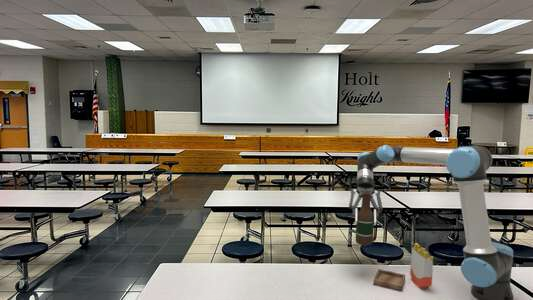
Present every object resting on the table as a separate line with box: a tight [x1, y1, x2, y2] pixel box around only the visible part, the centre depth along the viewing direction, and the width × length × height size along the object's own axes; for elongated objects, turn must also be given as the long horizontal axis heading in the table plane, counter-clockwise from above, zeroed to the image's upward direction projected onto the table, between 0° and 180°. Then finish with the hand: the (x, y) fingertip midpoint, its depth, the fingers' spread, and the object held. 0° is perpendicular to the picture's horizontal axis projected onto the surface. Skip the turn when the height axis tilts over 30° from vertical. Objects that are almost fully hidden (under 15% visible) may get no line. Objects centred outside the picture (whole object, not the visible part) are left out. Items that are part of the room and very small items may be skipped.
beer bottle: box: [355, 191, 375, 247], centre depth 161 cm, size 8×8×24 cm
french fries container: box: [409, 242, 434, 289], centre depth 157 cm, size 5×11×18 cm, turn 5°
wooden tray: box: [372, 268, 406, 293], centre depth 160 cm, size 12×12×2 cm
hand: (365, 222), depth 158 cm, fingers closed on beer bottle, 7 cm apart
